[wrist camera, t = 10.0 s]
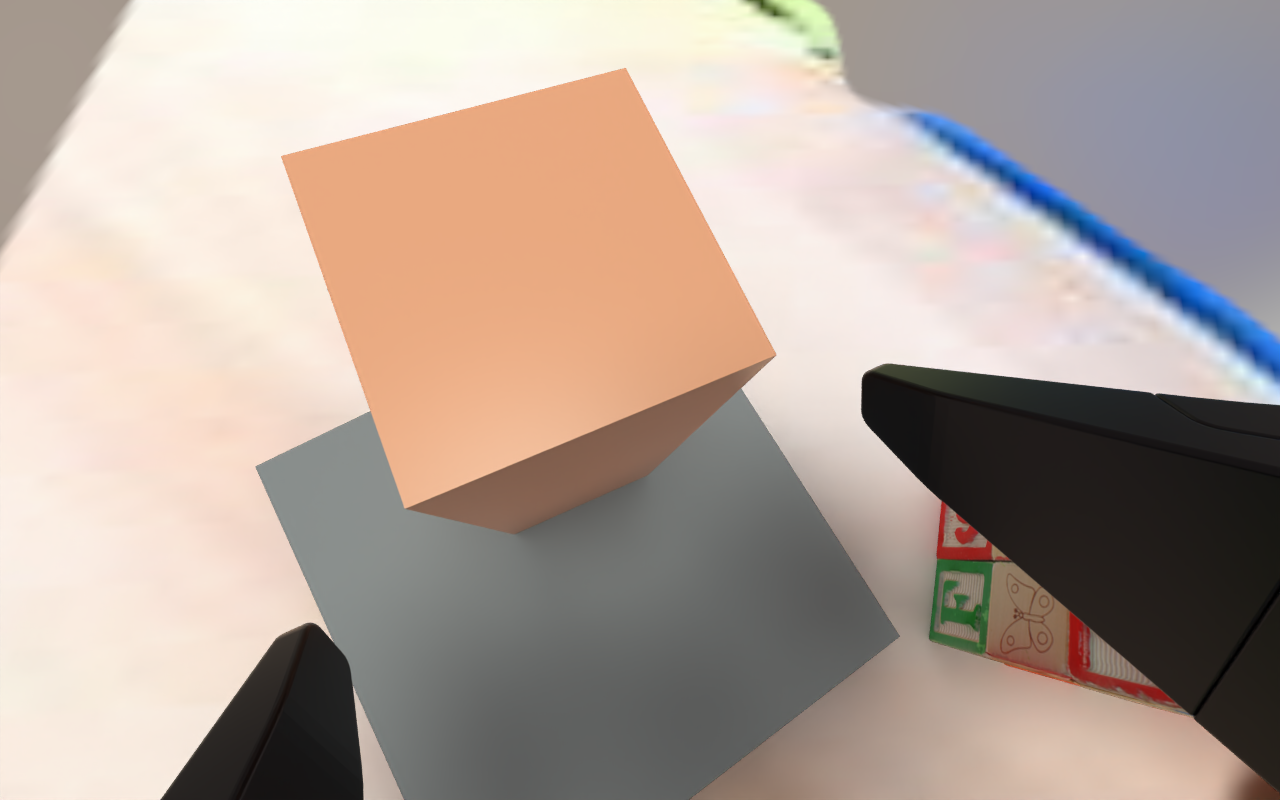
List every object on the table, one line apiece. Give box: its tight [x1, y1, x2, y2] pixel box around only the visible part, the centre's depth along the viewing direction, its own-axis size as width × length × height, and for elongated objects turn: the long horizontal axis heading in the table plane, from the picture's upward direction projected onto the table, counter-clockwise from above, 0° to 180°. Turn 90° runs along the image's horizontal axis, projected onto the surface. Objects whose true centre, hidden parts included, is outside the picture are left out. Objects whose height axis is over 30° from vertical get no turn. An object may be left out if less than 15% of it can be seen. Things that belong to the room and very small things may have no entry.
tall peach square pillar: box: [281, 68, 776, 534], centre depth 13 cm, size 5×5×12 cm
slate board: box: [256, 389, 900, 800], centre depth 19 cm, size 16×16×1 cm
